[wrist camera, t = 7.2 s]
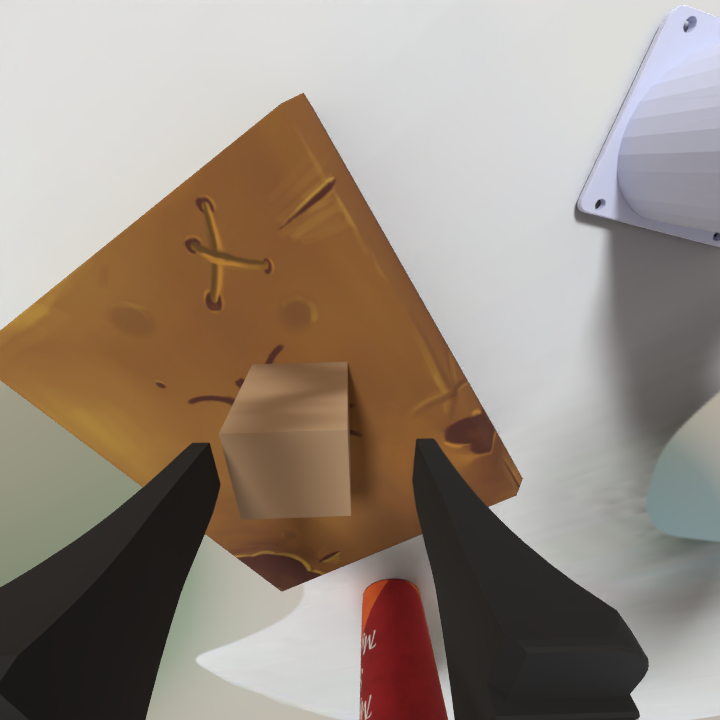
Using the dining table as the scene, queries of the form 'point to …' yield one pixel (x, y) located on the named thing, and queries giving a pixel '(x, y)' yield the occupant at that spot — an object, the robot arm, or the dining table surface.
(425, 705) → the paper cup
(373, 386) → the diary
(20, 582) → the robot arm
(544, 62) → the dining table surface
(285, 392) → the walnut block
